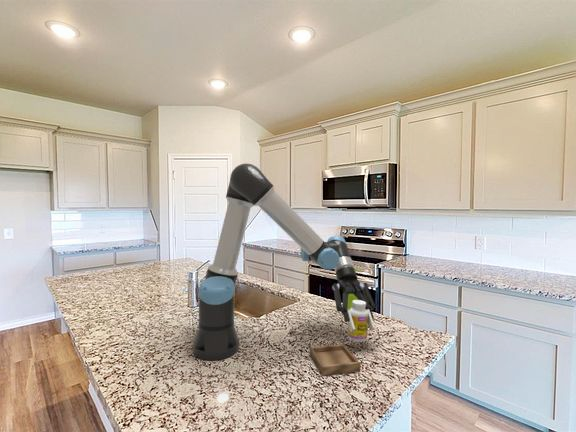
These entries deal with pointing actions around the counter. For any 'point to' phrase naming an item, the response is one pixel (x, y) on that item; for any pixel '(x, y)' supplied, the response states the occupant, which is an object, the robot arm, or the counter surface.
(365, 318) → the supplement bottle
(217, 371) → the counter surface
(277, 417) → the counter surface
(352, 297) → the soap dispenser
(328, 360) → the walnut tray
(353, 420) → the counter surface
